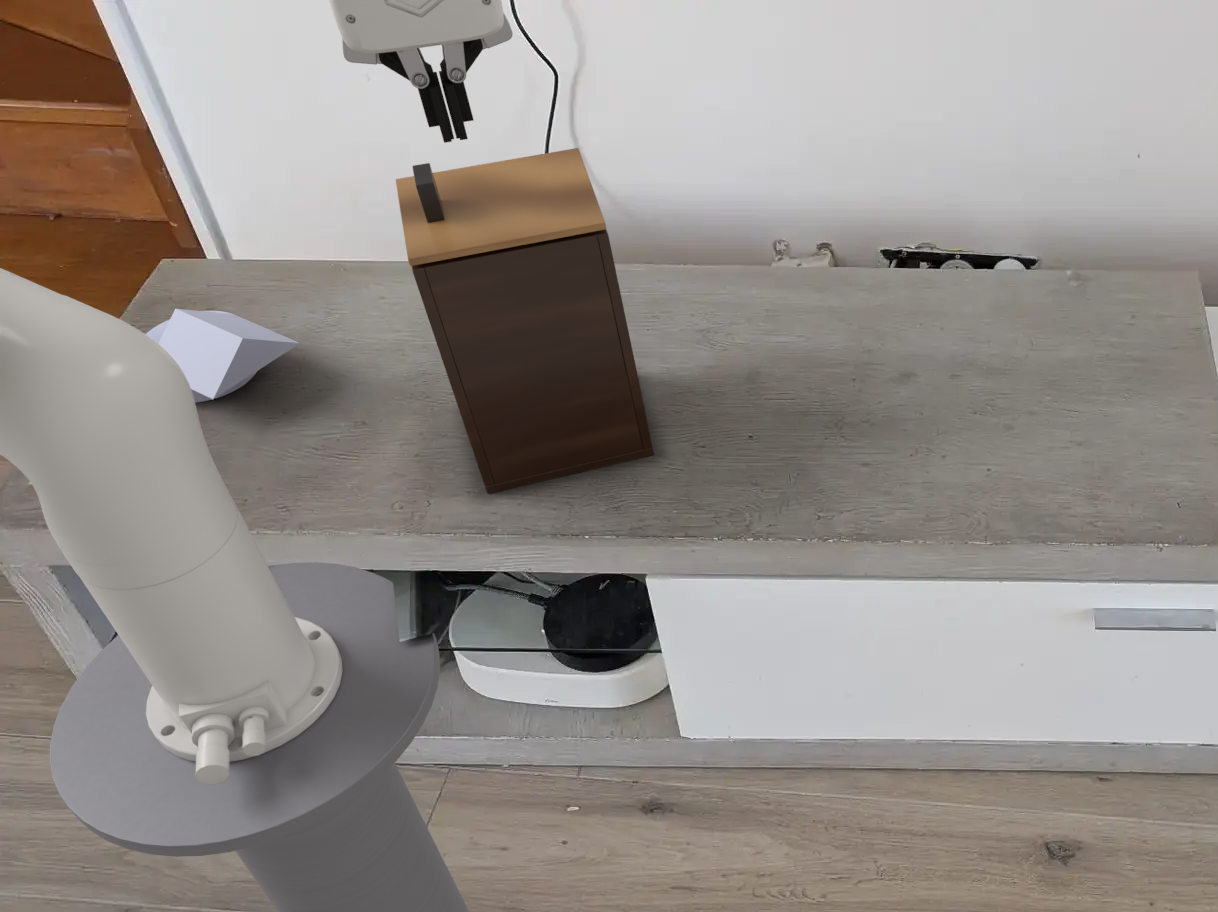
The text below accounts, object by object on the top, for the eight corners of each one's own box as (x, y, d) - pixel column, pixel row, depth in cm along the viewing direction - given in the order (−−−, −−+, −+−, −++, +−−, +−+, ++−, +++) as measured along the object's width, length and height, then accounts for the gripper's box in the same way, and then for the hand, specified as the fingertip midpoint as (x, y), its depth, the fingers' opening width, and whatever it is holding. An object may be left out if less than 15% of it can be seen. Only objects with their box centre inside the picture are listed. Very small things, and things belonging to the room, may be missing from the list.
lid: (606, 229, 95) (597, 184, 93) (410, 266, 92) (394, 220, 89) (579, 154, 103) (570, 111, 101) (397, 186, 100) (383, 141, 97)
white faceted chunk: (313, 373, 118) (215, 330, 123) (286, 311, 113) (185, 268, 118) (228, 430, 113) (129, 382, 117) (196, 366, 108) (94, 319, 112)
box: (654, 455, 111) (608, 233, 96) (487, 494, 107) (412, 270, 92) (628, 374, 118) (581, 157, 103) (471, 409, 115) (399, 189, 100)
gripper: (241, -118, 75) (343, 176, 88) (511, -147, 79) (571, 139, 92) (241, -159, 80) (338, 126, 93) (495, -184, 84) (554, 92, 97)
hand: (453, 131), depth 92 cm, fingers closed
